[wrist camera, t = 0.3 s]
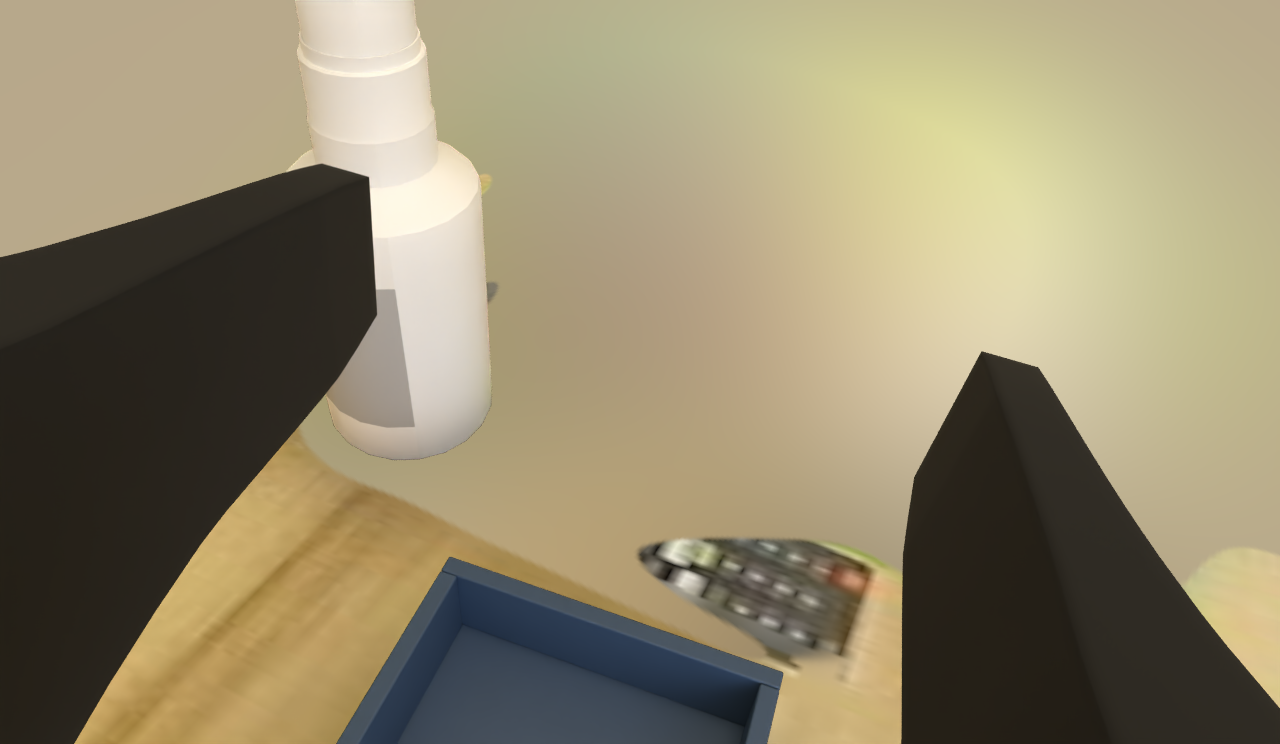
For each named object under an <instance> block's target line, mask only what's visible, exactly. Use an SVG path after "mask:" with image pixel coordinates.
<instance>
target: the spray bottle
mask: <svg viewBox="0 0 1280 744" xmlns="http://www.w3.org/2000/svg"><path fill="white" fill-rule="evenodd" d="M295 4H296V10H297V16H298V21H299V26H300V32H299V35H298V36H299V41H300V44H299V46H298V49H297V57H298V62H299V68H300V73H301V78H302V83H303V88H304V93H305V98H306V103H307V108H308V113H307V116H306V117H307V122H308V128H309V133H310V138H311V143H312V148H313V149H311V150H310V151H308V152H306V153H304V154H302V156H301V157H300V158H299V159H298V160H297V161H296V162H295V163H294V164H293V165H292V166H291V167H290V168H289V169H288V170H287V171H286V172H289V171H292V170H296V169H299V168H303V167H308V166H312V165H317V164H321V163H322V164H326V165H329V166H333V167H336V168H340V169H343V170H347V171H350V172H354V173H357V174H361V175H364V176H368V177H369V182H370V199H371V216H372V233H373V250H374V267H375V284H376V301H377V316H376V318H375V319H374V321H373V323H372V325H371V326H370V328H369V330H368V331H367V333H366V335H365V336H364V338H363V340H362V341H361V343H360V345H359V347H358V348H357V350H356V351H355V353H354V355H353V356H352V358H351V359H350V361H349V362H348V364H347V365H346V367H345V369H344V370H343V372H342V373H341V375H340V376H339V378H338V379H337V380H336V382H335V383H334V384H333V385H332V387H331V388H330V389H329V390H328V392H327V393H326V397H327V401H328V406H329V410H330V414H331V417H332V421H333V425H334V427H335V428H336V429H337V430H338V431H339V433H340V434H341V435H342V436H343V437H344V438H345V440H346V441H347V442H348V443H350V444H351V445H353V446H354V447H356V448H358V449H360V450H362V451H364V452H365V453H367V454H369V455H373V456H378V457H382V458H387V459H391V460H410V459H422V458H426V457H430V456H434V455H438V454H441V453H445V452H447V451H448V450H450V449H452V448H454V447H456V446H457V445H459V444H461V443H463V442H465V441H466V440H467V439H468V438H469V437H470V436H471V435H472V434H473V433H474V432H475V431H476V430H477V429H478V428H479V427H480V426H481V425H482V423H483V422H484V419H485V417H486V415H487V413H488V411H489V409H490V407H491V402H492V382H491V363H490V346H489V326H488V307H487V288H486V270H485V253H484V252H485V251H484V233H483V214H482V195H481V181H480V178H479V175H478V174H477V172H476V170H475V168H474V167H473V165H472V163H471V161H470V160H469V159H467V158H466V157H465V156H464V155H462V154H461V153H460V152H458V151H457V150H456V149H454V148H453V147H452V146H450V145H449V144H446V143H443V142H441V141H438V140H437V131H436V121H435V110H434V108H433V106H432V104H431V94H430V83H429V72H428V61H427V50H426V46H425V44H424V43H423V41H422V39H421V38H420V30H419V29H418V27H417V24H416V15H415V14H416V13H415V3H414V0H295Z"/></svg>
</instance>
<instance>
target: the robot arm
mask: <svg viewBox="0 0 1280 744" xmlns="http://www.w3.org/2000/svg"><path fill="white" fill-rule="evenodd" d="M376 316H377V301H376V284H375V267H374V250H373V233H372V216H371V199H370V182H369V177H368V176H364V175H361V174H357V173H354V172H350V171H347V170H343V169H340V168H336V167H333V166H329V165H326V164H322V163H321V164H317V165H312V166H308V167H303V168H299V169H296V170H292V171H289V172H285V173H282V174H278V175H275V176H272V177H269V178H266V179H262V180H259V181H256V182H253V183H250V184H247V185H243V186H241V187H237V188H235V189H231V190H228V191H225V192H222V193H219V194H216V195H213V196H210V197H207V198H204V199H201V200H198V201H195V202H192V203H189V204H185V205H182V206H179V207H176V208H173V209H170V210H167V211H164V212H161V213H158V214H155V215H152V216H148V217H145V218H142V219H138V220H135V221H132V222H128V223H125V224H121V225H118V226H115V227H111V228H108V229H104V230H100V231H97V232H94V233H90V234H86V235H83V236H80V237H76V238H73V239H69V240H66V241H62V242H59V243H55V244H52V245H48V246H45V247H41V248H37V249H34V250H29V251H25V252H21V253H17V254H13V255H9V256H4V257H0V744H74V743H75V741H76V740H77V738H78V736H79V734H80V733H81V731H82V729H83V728H84V726H85V724H86V723H87V721H88V719H89V717H90V716H91V714H92V712H93V711H94V709H95V707H96V706H97V704H98V702H99V701H100V699H101V697H102V695H103V694H104V692H105V690H106V689H107V687H108V685H109V684H110V682H111V680H112V679H113V677H114V676H115V674H116V673H117V671H118V669H119V668H120V666H121V665H122V663H123V662H124V660H125V658H126V657H127V655H128V654H129V652H130V651H131V649H132V647H133V646H134V644H135V643H136V641H137V639H138V638H139V636H140V635H141V633H142V632H143V630H144V628H145V627H146V625H147V624H148V622H149V621H150V619H151V617H152V616H153V614H154V613H155V611H156V610H157V608H158V607H159V605H160V604H161V602H162V601H163V599H164V598H165V596H166V595H167V593H168V592H169V590H170V589H171V587H172V586H173V585H174V583H175V582H176V580H177V579H178V577H179V576H180V574H181V573H182V571H183V570H184V568H185V567H186V565H187V564H188V562H189V561H190V559H191V558H192V556H193V555H194V554H195V552H196V551H197V549H198V548H199V546H200V545H201V543H202V542H203V541H204V539H205V538H206V537H207V535H208V534H209V533H210V532H211V530H212V529H213V528H214V526H215V525H216V524H217V523H218V521H219V520H220V519H221V517H222V516H223V515H224V514H225V512H226V511H227V510H228V509H229V507H230V506H231V505H232V504H233V503H234V502H235V500H236V499H237V498H238V497H239V496H240V495H241V493H242V492H243V491H244V490H245V489H246V487H247V486H248V485H249V484H250V483H251V482H252V480H253V479H254V478H255V477H256V476H257V475H258V473H259V472H260V471H261V470H262V469H263V467H264V466H265V465H266V464H267V463H268V462H269V460H270V459H271V458H272V457H273V456H274V455H275V453H276V452H277V451H278V450H279V449H280V448H281V446H282V445H283V444H284V443H285V442H286V440H287V439H288V438H289V437H290V436H291V435H292V433H293V432H294V431H295V430H296V429H297V428H298V426H299V425H300V424H301V423H302V422H303V420H304V419H305V418H306V417H307V416H308V414H309V413H310V412H311V411H312V410H313V408H314V407H315V406H316V405H317V404H318V402H319V401H320V400H321V399H322V398H323V396H324V395H325V394H326V393H327V392H328V390H329V389H330V388H331V387H332V385H333V384H334V383H335V382H336V380H337V379H338V378H339V376H340V375H341V373H342V372H343V370H344V369H345V367H346V365H347V364H348V362H349V361H350V359H351V358H352V356H353V355H354V353H355V351H356V350H357V348H358V347H359V345H360V343H361V341H362V340H363V338H364V336H365V335H366V333H367V331H368V330H369V328H370V326H371V325H372V323H373V321H374V319H375V318H376ZM901 744H1280V708H1279V707H1278V706H1277V704H1276V703H1275V702H1274V701H1273V700H1272V699H1271V697H1270V696H1269V695H1268V694H1267V693H1266V691H1265V690H1264V689H1263V688H1262V687H1261V686H1260V684H1259V683H1258V682H1257V681H1256V680H1255V678H1254V677H1253V676H1252V675H1251V674H1250V673H1249V671H1248V670H1247V669H1246V668H1245V667H1244V665H1243V664H1242V663H1241V662H1240V661H1239V660H1238V658H1237V657H1236V656H1235V655H1234V654H1233V653H1232V651H1231V650H1230V649H1229V648H1228V647H1227V645H1226V644H1225V643H1224V642H1223V640H1222V639H1221V638H1220V637H1219V635H1218V634H1217V633H1216V632H1215V630H1214V629H1213V628H1212V627H1211V625H1210V624H1209V623H1208V621H1207V620H1206V619H1205V618H1204V616H1203V615H1202V614H1201V612H1200V611H1199V610H1198V609H1197V607H1196V606H1195V604H1194V603H1193V602H1192V600H1191V599H1190V598H1189V596H1188V595H1187V594H1186V592H1185V591H1184V589H1183V588H1182V587H1181V585H1180V584H1179V583H1178V581H1177V580H1176V579H1175V577H1174V576H1173V575H1172V573H1171V572H1170V570H1169V569H1168V568H1167V566H1166V565H1165V564H1164V562H1163V561H1162V560H1161V558H1160V557H1159V556H1158V554H1157V553H1156V551H1155V550H1154V548H1153V547H1152V545H1151V544H1150V542H1149V541H1148V539H1147V538H1146V537H1145V535H1144V534H1143V533H1142V531H1141V530H1140V528H1139V526H1138V525H1137V523H1136V522H1135V521H1134V519H1133V517H1132V516H1131V514H1130V513H1129V511H1128V510H1127V508H1126V507H1125V505H1124V504H1123V502H1122V501H1121V499H1120V498H1119V496H1118V495H1117V493H1116V491H1115V490H1114V488H1113V487H1112V485H1111V484H1110V482H1109V481H1108V479H1107V478H1106V476H1105V474H1104V473H1103V471H1102V469H1101V468H1100V466H1099V465H1098V463H1097V461H1096V460H1095V458H1094V457H1093V455H1092V453H1091V452H1090V450H1089V448H1088V447H1087V445H1086V444H1085V442H1084V440H1083V439H1082V437H1081V435H1080V434H1079V432H1078V431H1077V429H1076V427H1075V426H1074V424H1073V422H1072V421H1071V419H1070V417H1069V416H1068V414H1067V412H1066V411H1065V409H1064V407H1063V406H1062V404H1061V403H1060V401H1059V399H1058V397H1057V396H1056V394H1055V393H1054V391H1053V389H1052V388H1051V386H1050V385H1049V383H1048V381H1047V380H1046V378H1045V377H1044V375H1043V374H1042V373H1041V371H1040V369H1039V368H1038V367H1035V366H1031V365H1028V364H1024V363H1021V362H1017V361H1013V360H1010V359H1007V358H1003V357H1000V356H996V355H993V354H989V353H986V352H981V354H980V355H979V357H978V359H977V361H976V363H975V365H974V366H973V368H972V370H971V372H970V374H969V376H968V378H967V380H966V382H965V383H964V385H963V387H962V389H961V391H960V393H959V395H958V396H957V399H956V400H955V402H954V404H953V406H952V408H951V410H950V412H949V413H948V415H947V417H946V419H945V421H944V423H943V425H942V426H941V428H940V430H939V432H938V434H937V436H936V438H935V440H934V441H933V443H932V445H931V447H930V449H929V451H928V453H927V455H926V456H925V458H924V460H923V462H922V464H921V466H920V468H919V469H918V471H917V473H916V475H915V477H914V483H913V489H912V495H911V502H910V509H909V515H908V522H907V529H906V536H905V544H904V551H903V587H902V739H901Z"/></svg>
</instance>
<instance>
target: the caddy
mask: <svg viewBox="0 0 1280 744" xmlns="http://www.w3.org/2000/svg"><path fill="white" fill-rule="evenodd" d="M782 678H783V672H781V671H778V670H775V669H772V668H769V667H766V666H763V665H761V664H758V663H755V662H752V661H749V660H746V659H743V658H740V657H738V656H735V655H732V654H729V653H726V652H723V651H720V650H717V649H715V648H712V647H709V646H706V645H703V644H700V643H697V642H694V641H692V640H689V639H686V638H683V637H680V636H677V635H674V634H671V633H669V632H666V631H663V630H660V629H657V628H654V627H651V626H648V625H646V624H643V623H640V622H637V621H634V620H631V619H628V618H625V617H623V616H620V615H617V614H614V613H611V612H608V611H605V610H602V609H600V608H597V607H594V606H591V605H588V604H585V603H582V602H579V601H576V600H574V599H571V598H568V597H565V596H562V595H559V594H556V593H553V592H551V591H548V590H545V589H542V588H539V587H536V586H533V585H530V584H528V583H525V582H522V581H519V580H516V579H513V578H510V577H507V576H505V575H502V574H499V573H496V572H493V571H490V570H487V569H484V568H482V567H479V566H476V565H473V564H470V563H467V562H464V561H461V560H459V559H456V558H453V557H449V558H448V560H447V562H446V563H445V565H444V566H443V568H442V572H440V573H439V575H438V576H437V578H436V580H435V581H434V583H433V585H432V586H431V588H430V590H429V591H428V593H427V595H426V596H425V598H424V600H423V601H422V603H421V604H420V606H419V608H418V609H417V611H416V613H415V614H414V616H413V618H412V619H411V621H410V623H409V624H408V626H407V628H406V629H405V631H404V633H403V634H402V636H401V638H400V639H399V641H398V642H397V644H396V646H395V647H394V649H393V651H392V652H391V654H390V656H389V657H388V659H387V661H386V662H385V664H384V666H383V667H382V669H381V671H380V672H379V674H378V676H377V677H376V679H375V680H374V682H373V684H372V685H371V687H370V689H369V690H368V692H367V694H366V695H365V697H364V699H363V700H362V702H361V704H360V705H359V707H358V709H357V710H356V712H355V713H354V715H353V717H352V718H351V720H350V722H349V723H348V725H347V727H346V728H345V730H344V732H343V733H342V735H341V737H340V738H339V740H338V742H337V743H336V744H767V742H768V738H769V733H770V729H771V725H772V721H773V716H774V712H775V708H776V704H777V699H778V695H779V690H780V687H781V682H782Z"/></svg>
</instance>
